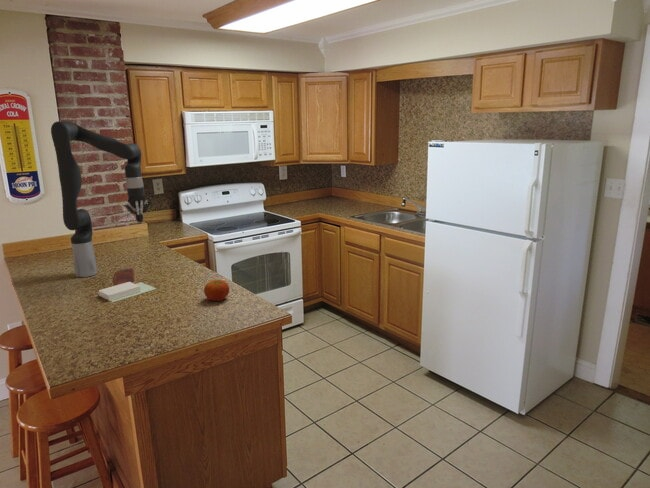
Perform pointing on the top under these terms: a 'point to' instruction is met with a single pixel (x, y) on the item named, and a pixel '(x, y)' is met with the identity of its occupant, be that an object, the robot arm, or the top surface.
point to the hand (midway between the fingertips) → (140, 221)
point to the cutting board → (143, 289)
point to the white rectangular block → (119, 291)
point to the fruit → (216, 290)
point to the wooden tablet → (123, 276)
